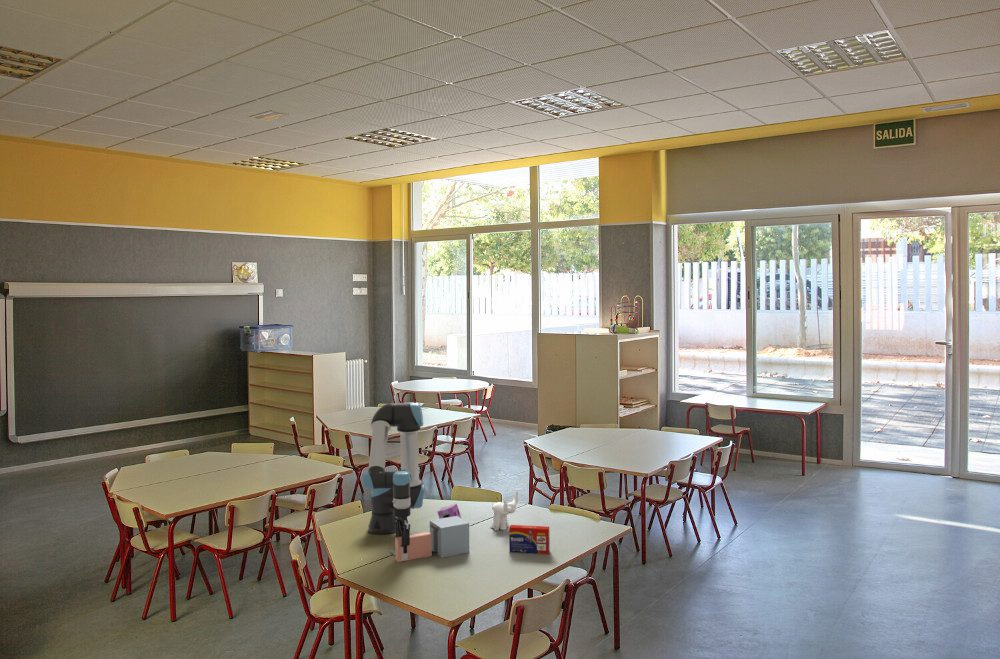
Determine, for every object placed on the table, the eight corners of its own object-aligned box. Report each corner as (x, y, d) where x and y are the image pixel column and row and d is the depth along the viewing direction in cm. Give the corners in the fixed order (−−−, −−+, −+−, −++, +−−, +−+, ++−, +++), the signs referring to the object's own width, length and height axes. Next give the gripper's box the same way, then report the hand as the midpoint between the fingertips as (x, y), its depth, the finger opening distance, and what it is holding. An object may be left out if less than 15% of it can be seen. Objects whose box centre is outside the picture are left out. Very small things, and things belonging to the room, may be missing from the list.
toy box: (549, 551, 334) (549, 526, 334) (548, 554, 330) (548, 529, 330) (510, 549, 338) (510, 524, 337) (509, 552, 334) (509, 527, 333)
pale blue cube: (428, 549, 339) (428, 520, 338) (457, 543, 346) (456, 515, 345) (439, 558, 327) (439, 528, 327) (469, 552, 334) (469, 523, 334)
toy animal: (508, 535, 359) (509, 501, 358) (485, 532, 363) (486, 498, 362) (520, 523, 377) (522, 491, 376) (498, 520, 381) (499, 488, 380)
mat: (390, 552, 336) (390, 551, 336) (424, 545, 344) (424, 544, 344) (394, 556, 330) (394, 554, 330) (429, 549, 339) (429, 548, 338)
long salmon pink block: (395, 559, 326) (395, 537, 326) (428, 553, 334) (428, 531, 333) (398, 562, 323) (397, 539, 323) (431, 555, 331) (431, 533, 330)
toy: (461, 538, 351) (451, 508, 352) (446, 542, 353) (436, 512, 354) (466, 531, 362) (457, 502, 363) (452, 536, 363) (442, 507, 364)
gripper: (387, 503, 330) (388, 554, 331) (400, 512, 316) (401, 566, 317) (403, 501, 334) (404, 551, 335) (416, 510, 319) (417, 562, 320)
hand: (402, 558), depth 326 cm, fingers closed on long salmon pink block, 3 cm apart
